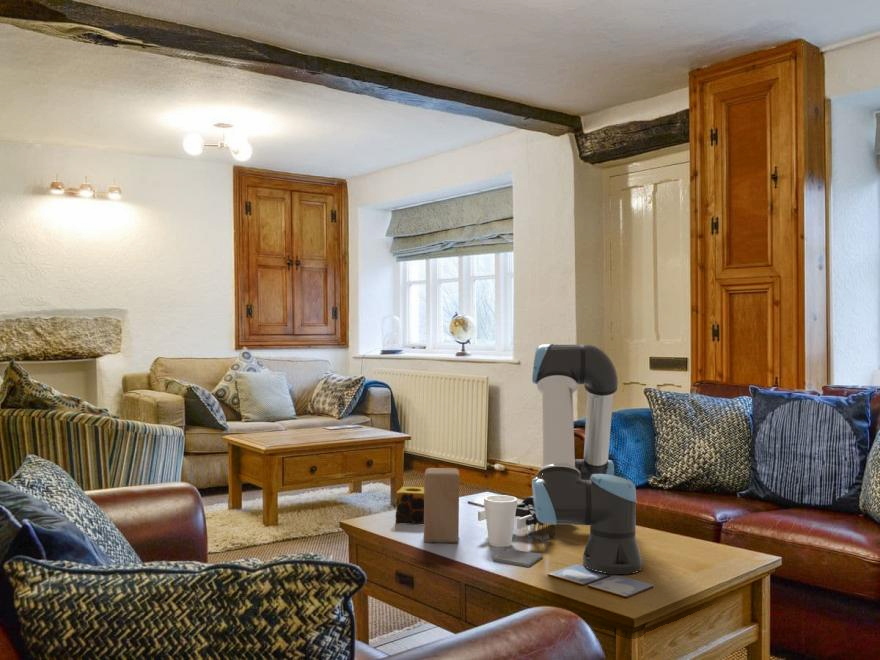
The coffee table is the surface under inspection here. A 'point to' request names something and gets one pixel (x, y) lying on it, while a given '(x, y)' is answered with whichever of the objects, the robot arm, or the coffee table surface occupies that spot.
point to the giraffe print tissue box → (410, 505)
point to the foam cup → (500, 519)
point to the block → (441, 505)
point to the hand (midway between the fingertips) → (498, 519)
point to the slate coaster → (518, 557)
